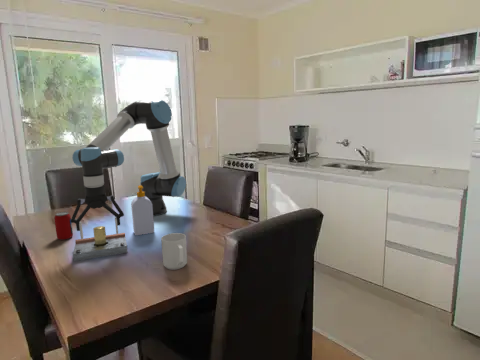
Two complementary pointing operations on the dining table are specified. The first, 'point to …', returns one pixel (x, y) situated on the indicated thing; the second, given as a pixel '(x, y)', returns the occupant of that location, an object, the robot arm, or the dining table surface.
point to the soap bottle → (142, 214)
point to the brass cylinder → (100, 236)
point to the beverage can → (63, 225)
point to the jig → (89, 250)
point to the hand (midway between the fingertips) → (100, 235)
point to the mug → (174, 251)
